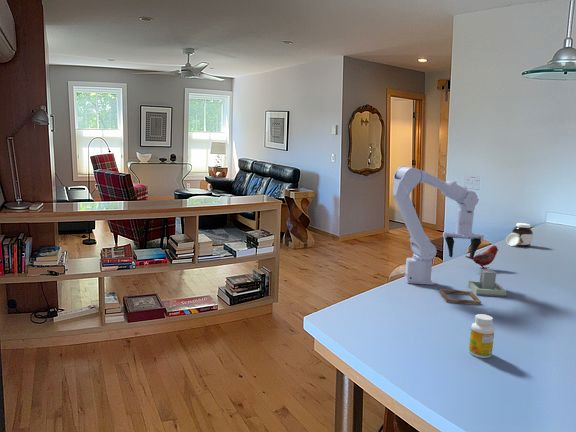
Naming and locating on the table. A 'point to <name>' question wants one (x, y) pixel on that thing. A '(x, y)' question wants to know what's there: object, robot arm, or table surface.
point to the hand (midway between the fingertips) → (460, 257)
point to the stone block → (487, 279)
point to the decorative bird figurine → (485, 257)
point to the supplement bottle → (482, 336)
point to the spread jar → (520, 235)
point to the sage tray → (489, 292)
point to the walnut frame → (474, 301)
